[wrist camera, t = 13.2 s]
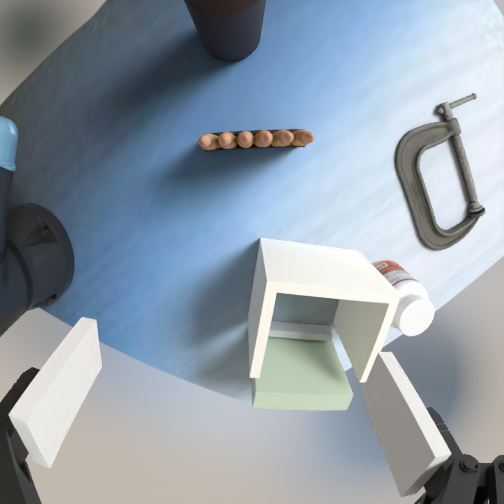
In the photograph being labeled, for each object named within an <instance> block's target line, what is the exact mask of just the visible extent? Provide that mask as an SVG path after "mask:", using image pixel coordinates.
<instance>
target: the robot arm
mask: <svg viewBox="0 0 504 504" xmlns="http://www.w3.org/2000/svg"><path fill="white" fill-rule="evenodd" d="M17 142H18V130H17V127H16V125H15V124H14V123H13V122H12V121H11V120H10V119H7V118H5V117H2V116H0V337H1V335H3V334H4V332H5V331H7V330H8V328H9V327H10V326H11V325H12V324H14V323H15V321H17V320H18V319H19V318H20V317H21V316H22V315H23V314H24V313H25V312H26V311H28V310H32V309H35V308H39V307H42V306H46V305H49V304H51V303H53V302H54V301H56V300H57V299H58V298H59V297H60V296H61V295H63V294H64V293H65V292H66V290H67V289H68V287H69V286H70V284H71V281H72V278H73V274H74V254H73V249H72V245H71V242H70V239H69V237H68V235H67V233H66V231H65V229H64V227H63V226H62V224H61V223H60V221H59V220H58V219H57V218H56V217H55V216H54V215H53V214H52V213H51V212H50V211H49V210H47V209H46V208H44V207H42V206H40V205H37V204H32V203H26V204H21V205H18V206H16V207H13V208H11V209H9V203H10V194H11V187H12V180H13V173H14V171H15V169H16V166H15V156H16V148H17ZM101 368H102V361H101V354H100V347H99V339H98V330H97V321H96V320H94V319H89V318H84V317H82V318H81V319H80V320H79V321H78V322H77V324H76V325H75V326H74V327H73V329H72V330H71V331H70V332H69V334H68V335H67V336H66V338H65V339H64V340H63V341H62V342H61V344H60V345H59V346H58V348H57V349H56V350H55V352H54V353H53V354H52V355H51V357H50V358H49V359H48V361H47V362H46V363H45V364H44V366H43V367H42V368H41V370H39V369H36V368H33V367H32V368H30V369H29V370H27V371H25V372H24V373H22V375H21V376H20V377H19V379H18V380H17V382H16V383H15V384H14V385H13V387H12V389H10V391H9V392H8V393H7V394H6V396H5V397H4V398H3V400H2V401H1V402H0V504H42V503H41V501H40V498H39V496H38V493H37V491H36V488H35V485H34V482H33V480H32V477H31V474H30V471H29V468H28V465H27V462H26V461H25V459H26V457H27V455H28V453H29V455H30V457H31V458H32V460H33V462H36V463H38V464H40V465H43V466H45V467H47V468H50V467H51V465H52V463H53V461H54V459H55V457H56V454H57V452H58V451H59V448H60V446H61V444H62V442H63V440H64V438H65V436H66V434H67V432H68V430H69V428H70V426H71V424H72V422H73V420H74V418H75V416H76V414H77V412H78V411H79V409H80V407H81V405H82V403H83V401H84V399H85V397H86V395H87V393H88V392H89V390H90V388H91V386H92V384H93V382H94V380H95V379H96V377H97V375H98V373H99V371H100V370H101ZM361 397H362V399H363V401H364V404H365V406H366V409H367V411H368V414H369V416H370V419H371V421H372V424H373V426H374V428H375V431H376V433H377V436H378V439H379V441H380V444H381V446H382V449H383V451H384V454H385V456H386V459H387V462H388V464H389V467H390V470H391V472H392V475H393V477H394V480H395V483H396V486H397V488H398V491H399V493H400V496H401V497H404V496H408V495H412V494H416V493H417V492H418V491H419V490H420V489H421V488H422V487H423V486H424V487H425V490H426V492H425V493H424V494H423V495H422V496H421V497H420V498H419V499H418V500H417V501H416V502H415V503H414V504H418V503H419V502H420V503H419V504H488V500H489V504H504V455H499V456H498V457H497V458H495V460H494V461H493V462H492V463H479V462H478V461H477V460H476V459H475V458H474V457H472V456H471V455H466V454H462V452H461V451H460V449H459V447H458V445H457V444H456V442H455V440H454V439H453V437H452V435H451V433H450V432H449V431H448V428H447V427H446V425H445V424H444V422H443V420H442V418H441V417H440V415H439V414H438V413H437V412H436V411H435V410H433V409H432V408H431V407H429V408H425V406H424V405H423V403H422V401H421V399H420V398H419V396H418V394H417V393H416V391H415V389H414V388H413V386H412V384H411V383H410V381H409V379H408V378H407V376H406V374H405V373H404V371H403V369H402V368H401V366H400V365H399V363H398V361H397V360H396V358H395V357H394V355H393V354H392V352H378V354H377V356H376V359H375V361H374V364H373V366H372V369H371V371H370V373H369V376H368V378H367V380H366V383H365V385H364V387H363V390H362V392H361Z"/></svg>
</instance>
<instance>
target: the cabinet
mask: <svg viewBox="0 0 504 504" xmlns="http://www.w3.org/2000/svg"><path fill="white" fill-rule="evenodd" d="M277 293H286V294H295V295H304V296H314V297H324V298H334V299H339V303H338V306H337V310H336V313H335V317H334V320H333V324H334V326H335V328H336V331H337V333H338V335H339V337H340V339H341V342H342V344H343V346H344V348H345V350H346V353H347V355H348V357H349V359H350V362H351V364H352V366H353V368H354V371H355V373H356V375H357V377H358V380H359V382H366V380H367V378H368V376H369V373H370V371H371V369H372V366H373V364H374V361H375V359H376V356H377V354H378V352H381V349H382V347H383V344H384V341H385V339H386V336H387V334H388V331H389V328H390V326H391V323H392V320H393V317H394V314H395V311H396V309H397V306H398V303H399V300H400V297H401V294H400V293H399V292H398V291H397V290H396V289H395V288H394V287H393V286H392V285H391V284H390V283H389V282H388V280H387V279H386V278H385V277H384V276H383V275H382V274H381V273H380V272H379V271H378V270H377V269H376V268H375V267H374V266H373V265H372V264H371V263H370V262H369V261H368V260H367V259H366V258H365V257H364V256H363V255H362V254H361V253H360V252H359V251H354V250H347V249H340V248H333V247H325V246H318V245H311V244H304V243H297V242H289V241H282V240H274V239H267V238H260V242H259V248H258V255H257V261H256V268H255V274H254V280H253V287H252V293H251V299H250V305H249V312H248V335H249V377H250V378H260V373H261V368H262V363H263V359H264V354H265V349H266V344H267V339H268V336H270V337H280V338H292V339H305V340H319V341H331V339H332V336H333V335H332V332H331V330H330V328H329V326H326V325H314V324H302V323H291V322H280V321H271V319H272V314H273V309H274V304H275V299H276V294H277Z"/></svg>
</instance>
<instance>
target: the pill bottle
mask: <svg viewBox="0 0 504 504" xmlns="http://www.w3.org/2000/svg"><path fill="white" fill-rule="evenodd" d="M373 266H374V267H375V268H376V269H377V270H378V271H379V272H380V273H381V274H382V275H383V276H384V277H385V278H386V279H387V280H388V282H389V283H390V284H391V285H392V286H393V287H394V288H395V289H396V290H397V291H398V292H399V293H400V294H401V297H400V300H399V303H398V306H397V309H396V311H395V314H394V317H393V320H392V323H391V326H392V327H394V328H398V329H399V330H400V331H401V332H402V333H403V334H405V335H407V336H415V335H418V334H420V333H422V332H423V331H424V330H425V329H427V328H428V326H429V325H430V323H431V321H432V320H433V317H434V307H433V305H432V303H431V302H430V301H429V300H428V295H427V292H426V290H425V288H424V287H423V286H422V285H421V284H420V283H419V282H418V281H417V280H416V279H414V278H413V277H412V276H411V275H410V274H409V273H408V272H406V271H405V270H404V269H403V268H402V267H401V266H399V265H398V264H397V263H395V262H394V261H391V260H381V261H378V262H376V263H374V264H373Z"/></svg>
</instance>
